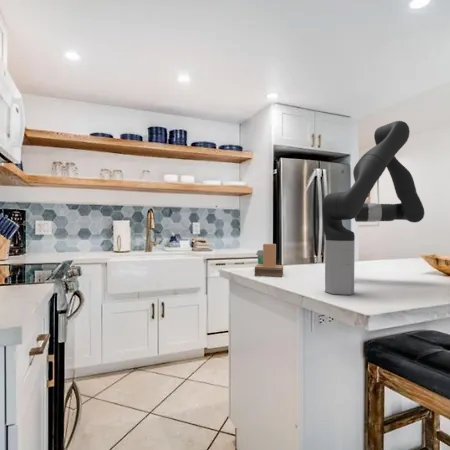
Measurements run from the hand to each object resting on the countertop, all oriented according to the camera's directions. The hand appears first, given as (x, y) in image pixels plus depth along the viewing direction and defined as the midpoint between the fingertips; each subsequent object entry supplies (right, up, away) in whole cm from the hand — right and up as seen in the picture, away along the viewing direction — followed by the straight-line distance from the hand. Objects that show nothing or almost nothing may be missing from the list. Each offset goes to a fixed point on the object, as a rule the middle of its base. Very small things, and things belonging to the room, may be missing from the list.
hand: (326, 212), depth 138 cm
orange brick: (-22, -24, +14) cm, 35 cm away
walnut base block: (-22, -28, +13) cm, 38 cm away
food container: (-23, -28, +27) cm, 45 cm away
